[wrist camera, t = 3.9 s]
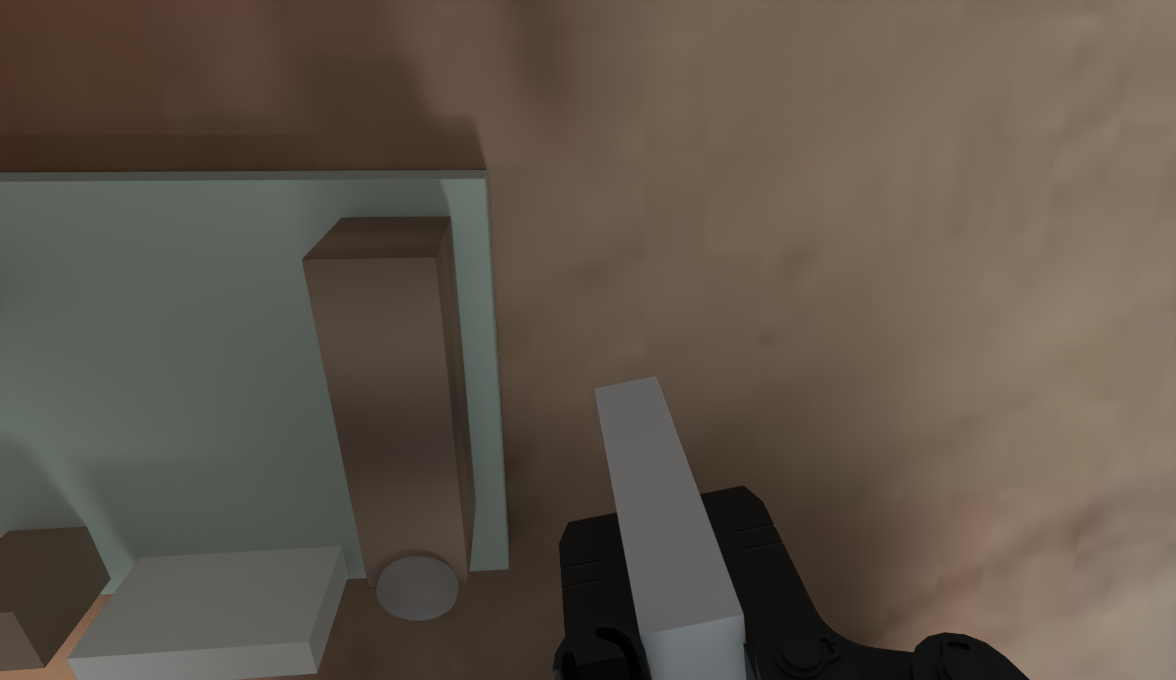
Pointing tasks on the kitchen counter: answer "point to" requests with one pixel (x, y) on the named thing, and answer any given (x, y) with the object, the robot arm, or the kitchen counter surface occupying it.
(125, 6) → the kitchen counter surface
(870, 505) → the kitchen counter surface
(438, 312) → the hinged leg
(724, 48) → the kitchen counter surface
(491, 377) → the stool seat
